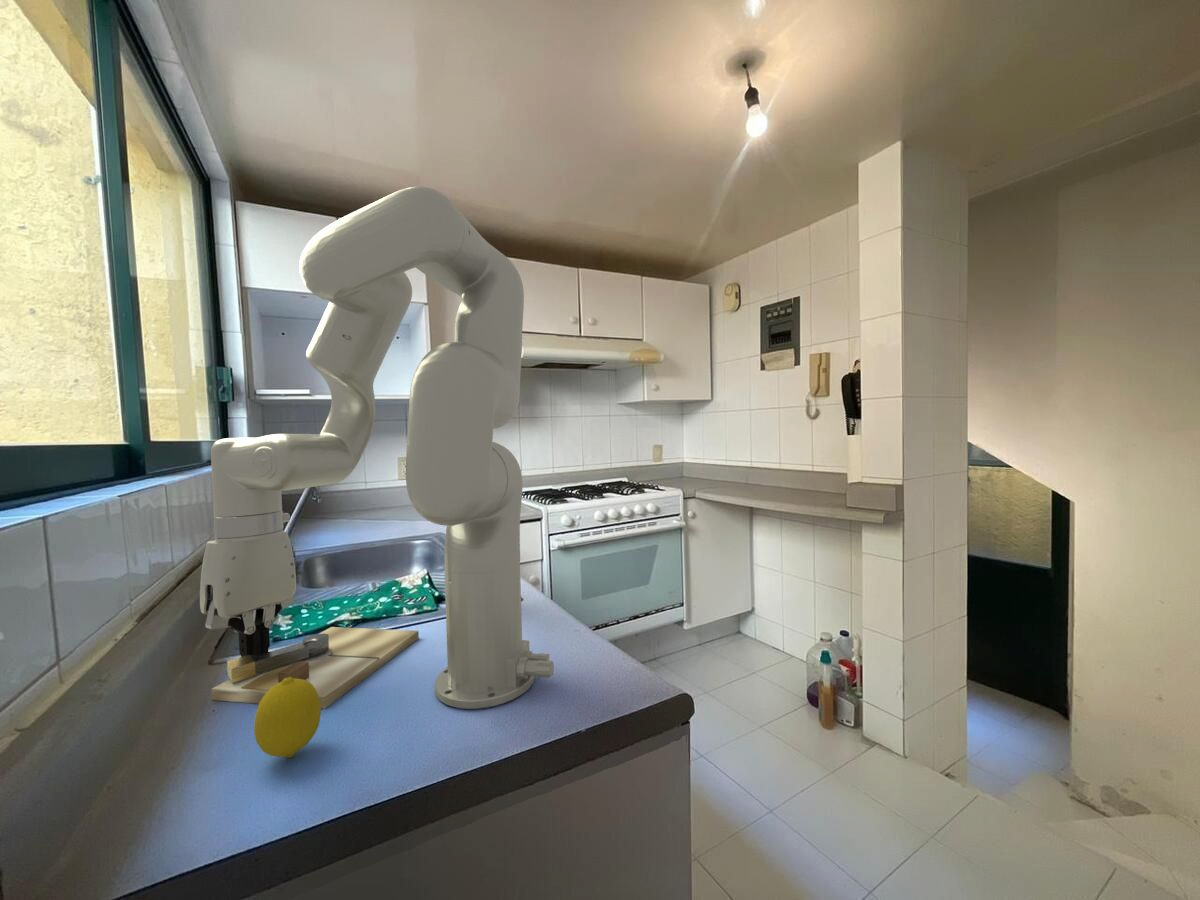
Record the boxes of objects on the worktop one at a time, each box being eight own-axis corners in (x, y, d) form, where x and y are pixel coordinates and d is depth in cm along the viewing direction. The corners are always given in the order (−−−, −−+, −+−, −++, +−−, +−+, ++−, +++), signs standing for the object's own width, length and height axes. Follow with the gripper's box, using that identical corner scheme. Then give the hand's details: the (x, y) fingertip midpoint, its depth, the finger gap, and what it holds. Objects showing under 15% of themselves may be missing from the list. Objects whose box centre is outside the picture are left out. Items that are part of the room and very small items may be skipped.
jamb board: (418, 638, 74) (418, 617, 74) (324, 708, 54) (323, 680, 54) (331, 633, 77) (331, 613, 77) (212, 699, 57) (211, 672, 57)
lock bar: (325, 645, 68) (324, 631, 68) (332, 651, 66) (331, 637, 66) (227, 674, 60) (227, 659, 60) (231, 682, 57) (231, 666, 57)
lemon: (289, 780, 43) (286, 695, 42) (240, 773, 44) (238, 690, 44) (334, 742, 48) (332, 666, 48) (290, 736, 49) (288, 663, 49)
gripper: (286, 517, 71) (291, 633, 71) (166, 536, 57) (172, 680, 58) (319, 518, 68) (324, 639, 69) (201, 538, 55) (208, 690, 55)
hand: (255, 657), depth 63 cm, fingers closed
